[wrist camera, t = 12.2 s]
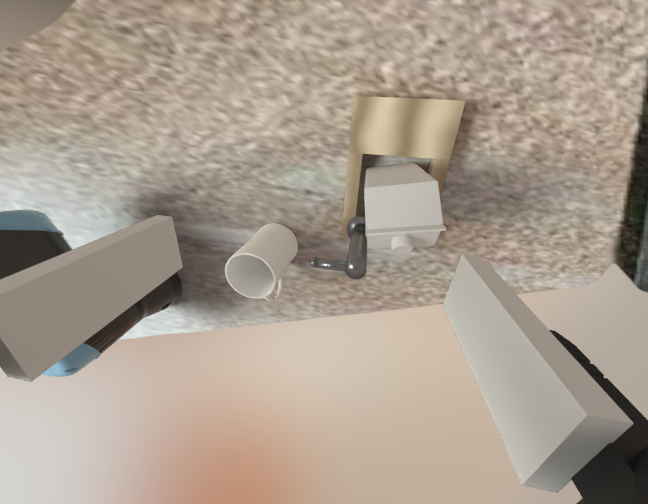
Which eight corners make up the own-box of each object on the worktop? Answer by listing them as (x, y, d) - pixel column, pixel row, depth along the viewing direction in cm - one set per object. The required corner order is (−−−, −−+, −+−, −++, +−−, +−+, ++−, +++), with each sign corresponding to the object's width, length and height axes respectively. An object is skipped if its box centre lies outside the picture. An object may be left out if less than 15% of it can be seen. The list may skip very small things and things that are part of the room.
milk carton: (366, 167, 39) (363, 197, 22) (414, 161, 37) (449, 189, 21) (369, 211, 42) (367, 267, 25) (413, 207, 40) (443, 264, 24)
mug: (306, 275, 50) (288, 315, 39) (267, 278, 52) (240, 317, 41) (292, 220, 45) (268, 248, 34) (250, 225, 47) (214, 254, 36)
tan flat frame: (342, 229, 44) (341, 235, 42) (355, 97, 35) (353, 95, 33) (424, 238, 42) (427, 244, 40) (459, 102, 33) (465, 100, 31)
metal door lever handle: (328, 231, 45) (308, 279, 31) (329, 208, 43) (309, 247, 29) (371, 236, 44) (372, 288, 30) (375, 212, 42) (377, 256, 28)
